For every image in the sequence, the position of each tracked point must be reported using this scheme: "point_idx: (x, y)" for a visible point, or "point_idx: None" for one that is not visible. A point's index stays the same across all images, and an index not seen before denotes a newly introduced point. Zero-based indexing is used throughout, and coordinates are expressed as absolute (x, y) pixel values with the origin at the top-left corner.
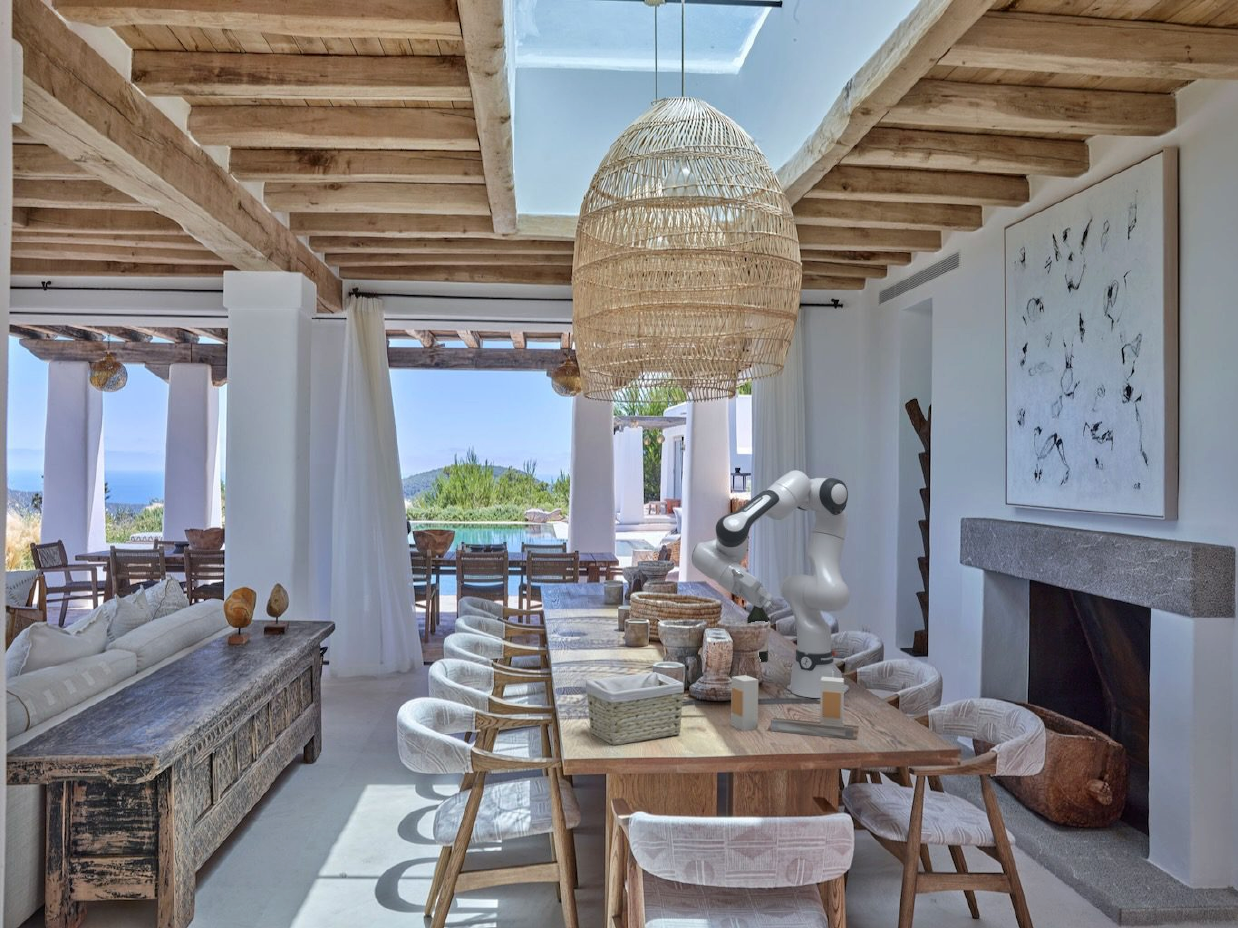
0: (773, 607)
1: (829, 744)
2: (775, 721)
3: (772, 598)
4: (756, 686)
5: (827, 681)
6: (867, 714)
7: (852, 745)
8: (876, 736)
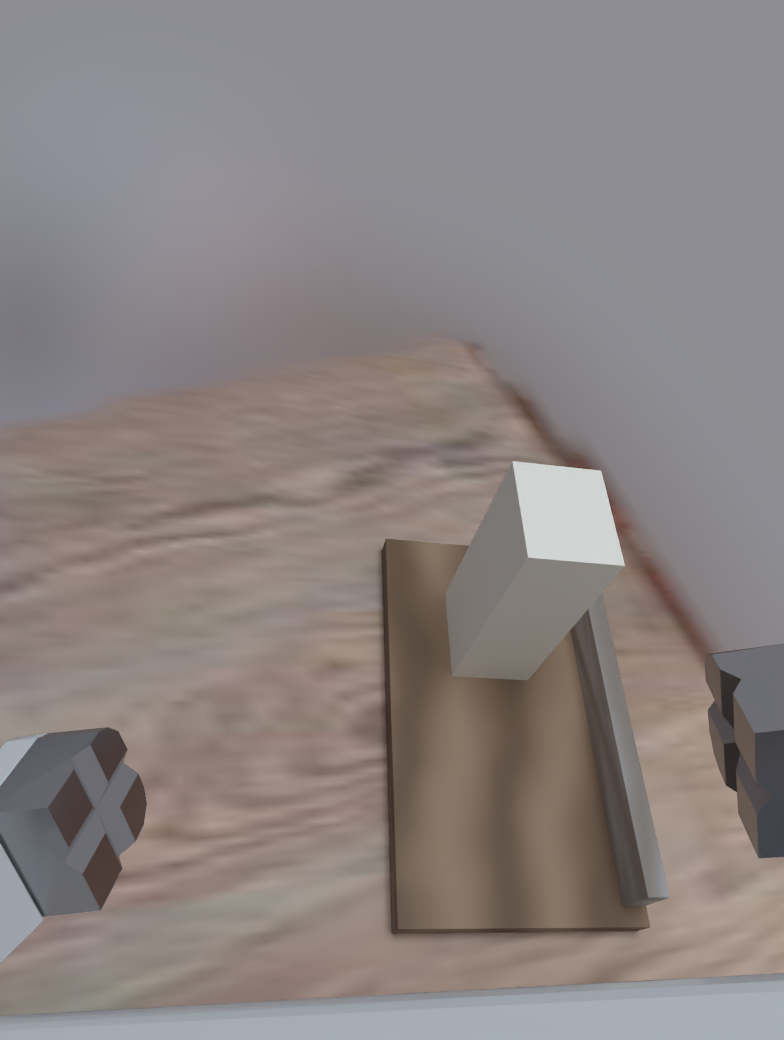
0: (133, 787)
1: None
2: (661, 871)
3: (708, 669)
4: None
5: (616, 536)
6: (98, 505)
7: None
8: (422, 500)
